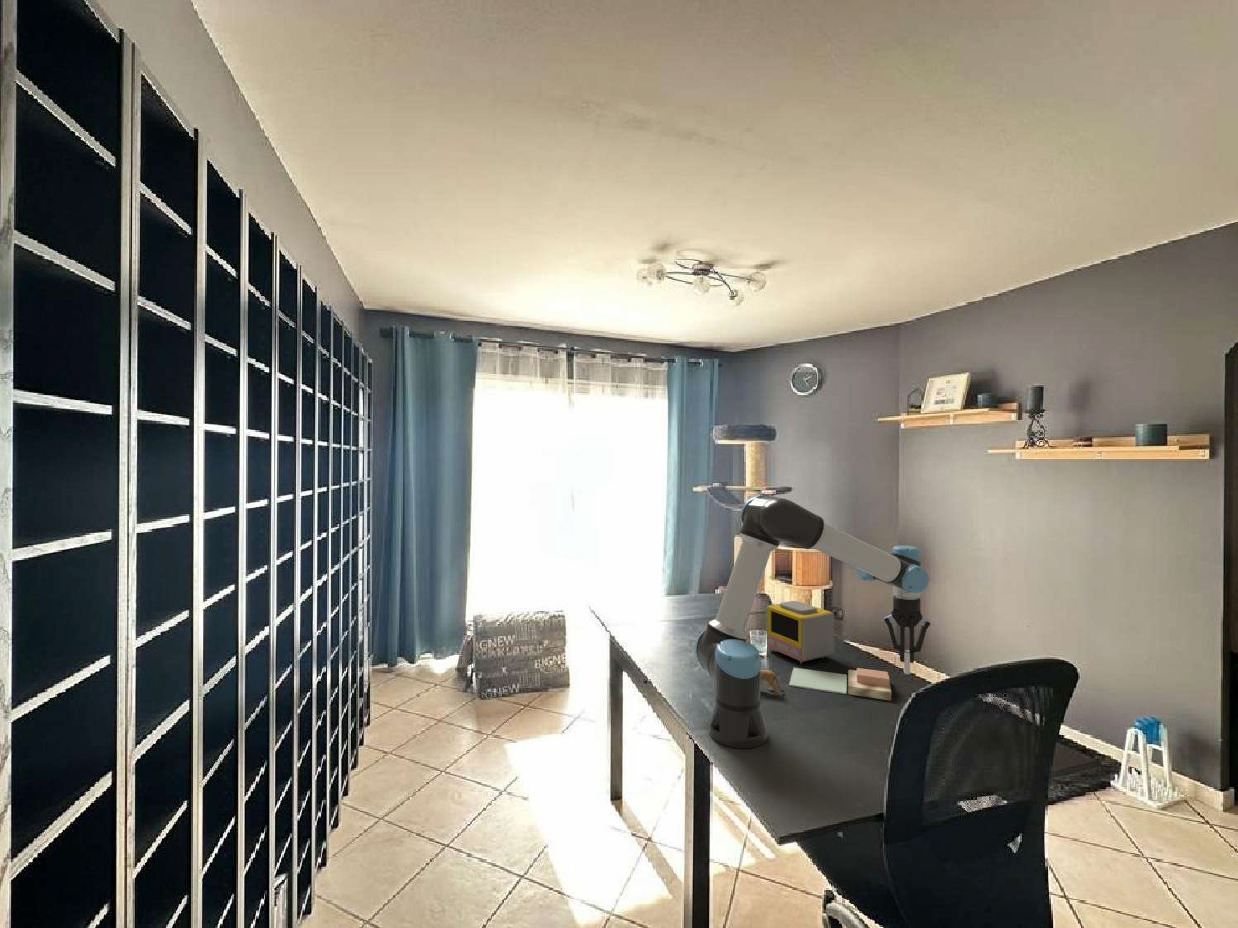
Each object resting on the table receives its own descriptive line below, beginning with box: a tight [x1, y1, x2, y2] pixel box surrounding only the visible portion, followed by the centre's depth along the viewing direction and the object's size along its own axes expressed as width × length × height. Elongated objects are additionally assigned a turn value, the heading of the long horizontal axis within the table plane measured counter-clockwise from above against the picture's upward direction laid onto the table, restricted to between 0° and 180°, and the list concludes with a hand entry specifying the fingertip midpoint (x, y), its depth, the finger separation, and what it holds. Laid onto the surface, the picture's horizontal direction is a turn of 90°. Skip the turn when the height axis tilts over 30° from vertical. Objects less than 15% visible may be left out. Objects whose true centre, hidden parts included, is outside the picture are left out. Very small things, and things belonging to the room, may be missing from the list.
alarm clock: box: [765, 600, 835, 665], centre depth 207 cm, size 20×16×18 cm
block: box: [856, 667, 890, 687], centre depth 177 cm, size 9×6×2 cm, turn 68°
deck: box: [847, 669, 892, 701], centre depth 178 cm, size 12×14×2 cm
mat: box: [788, 667, 848, 695], centre depth 184 cm, size 17×15×1 cm
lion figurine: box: [760, 669, 786, 697], centre depth 177 cm, size 15×5×9 cm, turn 67°
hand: (906, 672), depth 174 cm, fingers closed
